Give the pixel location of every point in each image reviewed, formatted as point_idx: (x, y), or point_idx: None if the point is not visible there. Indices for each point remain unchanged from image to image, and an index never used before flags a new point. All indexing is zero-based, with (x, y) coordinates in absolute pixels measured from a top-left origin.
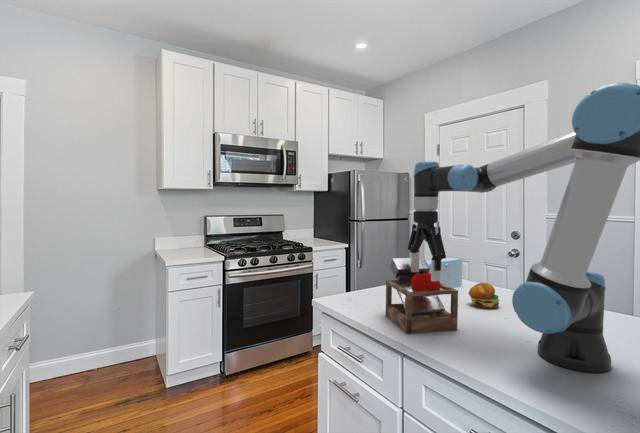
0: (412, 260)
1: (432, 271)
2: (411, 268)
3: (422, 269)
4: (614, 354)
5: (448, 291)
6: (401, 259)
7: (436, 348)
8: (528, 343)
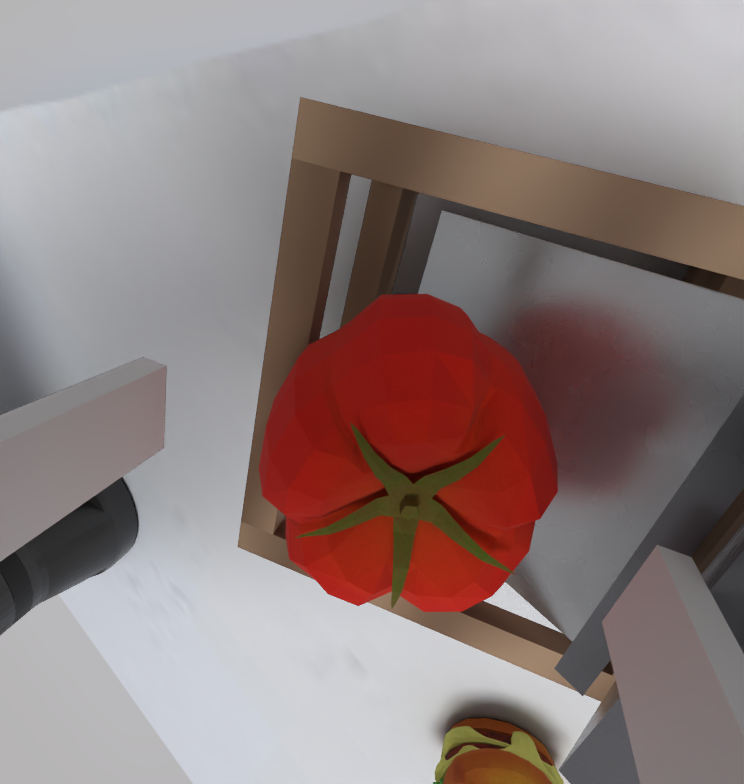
0: (734, 741)
1: (40, 400)
2: (691, 592)
3: (614, 702)
4: (80, 591)
5: (247, 486)
6: None
7: (208, 169)
8: (167, 507)
